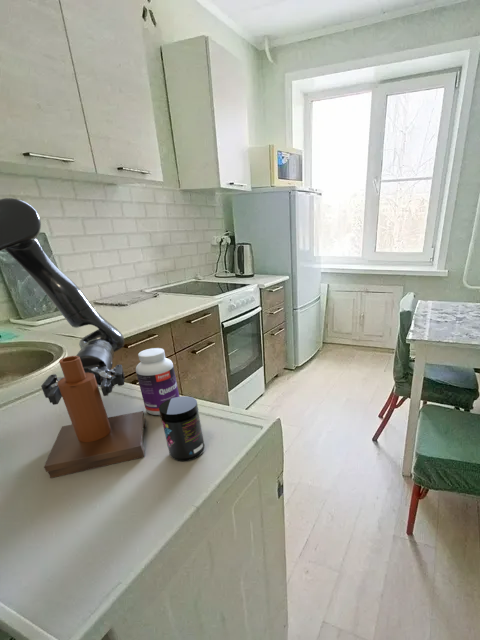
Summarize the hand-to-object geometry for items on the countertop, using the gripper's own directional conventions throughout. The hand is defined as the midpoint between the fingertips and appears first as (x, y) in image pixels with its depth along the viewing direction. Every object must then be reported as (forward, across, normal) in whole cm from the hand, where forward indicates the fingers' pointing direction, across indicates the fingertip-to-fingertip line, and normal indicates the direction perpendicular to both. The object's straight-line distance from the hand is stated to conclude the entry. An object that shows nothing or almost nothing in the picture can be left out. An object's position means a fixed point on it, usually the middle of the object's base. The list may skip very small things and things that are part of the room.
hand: (79, 395), depth 65 cm
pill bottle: (-12, +13, +12) cm, 22 cm away
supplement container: (+8, +17, +12) cm, 22 cm away
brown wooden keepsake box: (0, +1, +12) cm, 12 cm away
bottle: (-1, 0, +9) cm, 9 cm away
